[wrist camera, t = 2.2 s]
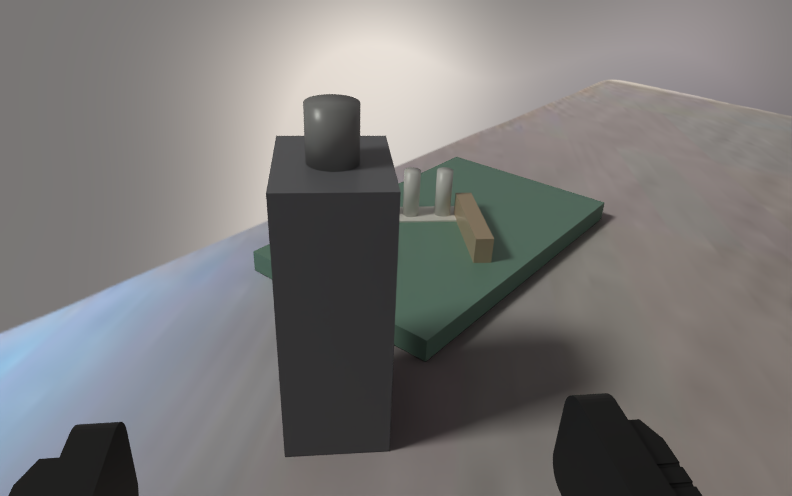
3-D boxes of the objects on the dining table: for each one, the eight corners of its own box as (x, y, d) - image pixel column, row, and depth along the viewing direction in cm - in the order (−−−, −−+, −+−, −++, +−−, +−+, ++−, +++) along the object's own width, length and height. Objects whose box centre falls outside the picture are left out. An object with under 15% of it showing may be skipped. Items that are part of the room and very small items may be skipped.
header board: (455, 171, 49) (459, 118, 47) (601, 218, 43) (613, 160, 41) (254, 270, 36) (249, 202, 34) (425, 361, 29) (431, 285, 27)
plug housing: (379, 366, 29) (387, 82, 22) (389, 451, 24) (403, 128, 18) (290, 370, 28) (273, 81, 22) (285, 456, 24) (261, 128, 18)
